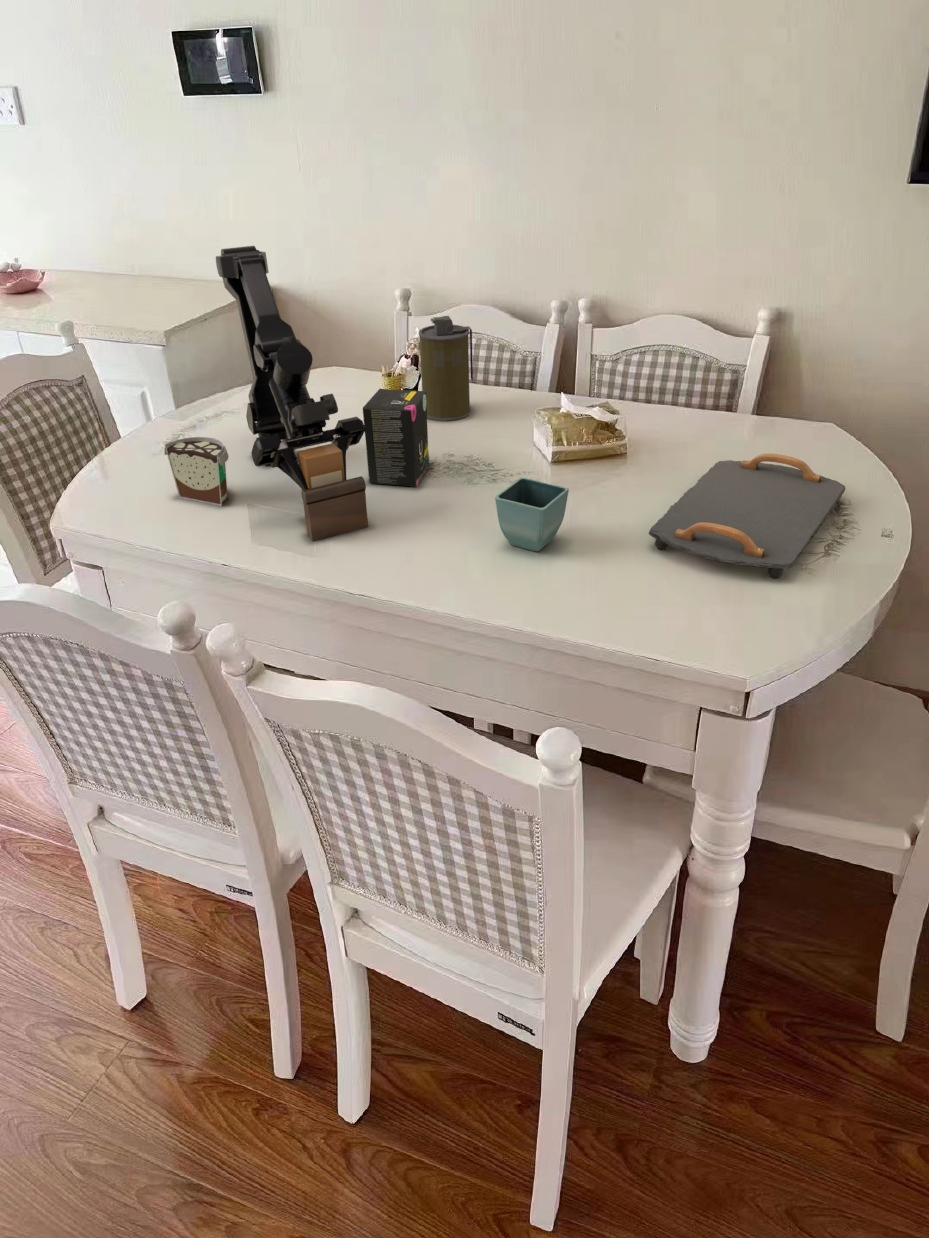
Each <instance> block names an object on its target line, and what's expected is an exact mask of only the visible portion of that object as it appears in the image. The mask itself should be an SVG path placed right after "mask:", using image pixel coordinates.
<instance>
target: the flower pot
mask: <svg viewBox="0 0 929 1238" xmlns="http://www.w3.org/2000/svg"><path fill="white" fill-rule="evenodd" d="M569 492H570V488H568V487H566V486H561V485H557V484H553V483H548V482H545V481H540V480H536V479H531V478H529V477H528V478H527V477H519V478H517V479H516V480H515V481H513V482H512V483H511V484H510V485H509V486H507V487H506V488H505V489H504V490H502V491H500V493H498V494H497V495H496V496H495V497H494V500H495V507H496V514H497V520H498V524H499V528H500V530H501V533H502V535H503V536H504V538H505V539H506V540H507V541H508V543H509V544H510V545H511V546H514V547H518V548H522V549H526V550H528V551H533V552H540V551H541V550H542V549H544V547H545V546H546V545H547V544H549V543H550V542H551V541H552V540H553V539H554V537H555V536H556V535H557V533H558V532H559V530H560V528H561V525H562V523H563V521H564V518H565V514H566V508H567V502H568V498H569Z"/></svg>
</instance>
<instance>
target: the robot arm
mask: <svg viewBox="0 0 929 1238" xmlns="http://www.w3.org/2000/svg"><path fill="white" fill-rule="evenodd" d="M215 264H216V271H217V274H218V276H219V277H220V278H222V282H223V286H224V288H225V289H226V291H227V292H228V293H229V294H230V296H232V297H233V299H234V300H235V301H236V305H237V310H238V315H239V320H240V323H241V328H242V333H243V337H244V342H245V347H246V352H247V356H248V361H249V365H250V369H251V373H252V379H253V380H252V384H251V386H250V390H249V392H248V401H249V402H247V406H246V413H245V414H246V415H245V416H246V422H247V427H248V429H249V430H250V432H251V433H252V435H253V436H255V435H258V437H256V438H255V440H254V442H253V445H252V448H251V452H250V453H251V458H252V461H253V463H254V466H255V467H262V466H266V467H270V466H271V468H278V469H279V470H280V471H282V472H283V473H284V474H285V475H286V476H288V477H289V478H290V479H291V480H292V481H293V482H294V483H295V484H296V485H297V486H298V487H299V488H300V490H301V489H302V490H306V489H308V487H307V483H306V480H305V478H304V476H303V474H302V471H301V469H300V467H299V465H298V458H297V454H296V453H295V450H299V449H303V448H309V447H312V446H318V445H321V444H322V445H323V444H326V443H327V444H328V443H330V444H332V443H333V444H334V445H335V446H337V447H338V448H339V449H340V450H341V451H342V455H343V466H344V476H345V480H347V451H348V449H350V448H349V447H351V446H356V445H358V444H360V443H361V442H360V441H361V440H362V438H363V436H364V435H365V430H366V429H365V426H364V420H362V419H361V418H359V417H358V416H353V417H348V418H344V419H339V420H338V421H337V422H336V426H334V428H332V429H327V430H324V429H323V428H326V426H327V421H330V420H331V418H330V416H331V415H335V414H337V413H338V412H339V408H338V403H337V400H336V398H335V395H334V393H329V394H328V393H327V394H323V395H321V396H319V400H318V401H316V400H315V399H314V398H313V397H311V396H310V392H309V390H308V387H307V384H308V383H309V379H310V374H311V371H312V367H313V359H314V358H313V355H312V352H311V351H310V350H309V348H307V347H306V346H305V345H304V344H303V343H302V341H301V340H300V339H299V338H297V336H296V334H295V332H294V329H293V327H292V325H290V324H289V323H287V322H286V321H285V320H283V318H282V317H281V315H280V311H279V309H278V306H277V303H276V299H275V297H274V293H273V290H272V287H271V285H270V281H269V278H268V276H267V274H269V273H270V271H269V266H268V258H267V253H266V251H262V250H261V251H260V250H259V249H257V248H256V246H255V245H247V246H237V247H227V248H221V250H220V255H216V256H215ZM302 490H301V491H302Z"/></svg>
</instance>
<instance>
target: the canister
mask: <svg viewBox="0 0 929 1238" xmlns="http://www.w3.org/2000/svg"><path fill="white" fill-rule="evenodd" d="M430 322H431V323H432V325H427V326H425V327H423V328H421V329H420V330H419V331H418V336H419V354H420V370H421V371H420V374H421V375H420V377H421V391H426V398H427V419H429V420H434V421H436V422H440V421H441V422H450V421H451V422H452V421H458V420H461V419H464V418H466V417H468V416H469V415H471V413H472V409H471V402H470V401H471V400H470V379H471V381H474V376H473V375H474V372H473V370H474V369H473V367H474V366H473V363H474V362H473V329H472V328H471V326H469V325H468V326H467V325H466V326H464V325H459V324H454V323H453V320H452V319H451V317H450V316H449V315H443V316H436V317H434V316H433V317H432V318H431V317H430ZM469 359H470V360H469Z"/></svg>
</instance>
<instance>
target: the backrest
mask: <svg viewBox="0 0 929 1238" xmlns="http://www.w3.org/2000/svg"><path fill="white" fill-rule="evenodd" d="M365 480H366V479H365V478H364V477H363V476H355V477H353V478H349V479H346V480H344V481H340V482H335V483H331V484H327V485H323V486H319V487H314V488H310V489H306V490H301V491H300V496H301V497H300V498H301V500H302V501H301V502H302V505H304V506H303V513H305V514H304V521H305V528H306V535H307V537H308V538H309V539H310V541H312V542H316V541H320V540H324V539H327V538H331V537H335V536H338V535H343V534H346V533H350V532H354V531H358V530H361V529H365V528H368V527H369V518H368V508H367V506H368V505H367V497H366V490H367V483H366V481H365Z"/></svg>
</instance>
